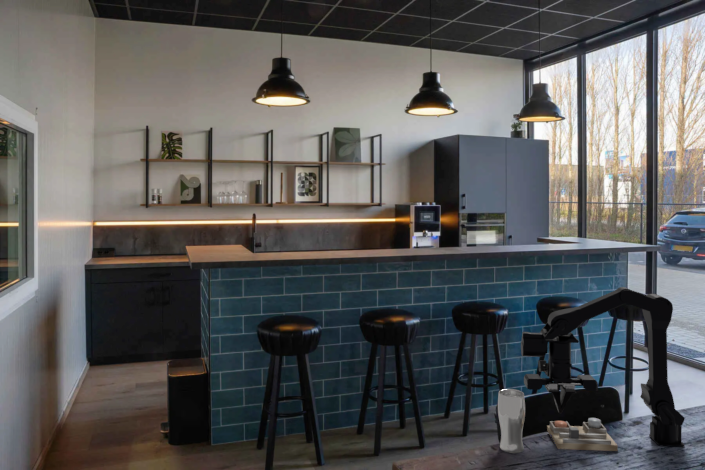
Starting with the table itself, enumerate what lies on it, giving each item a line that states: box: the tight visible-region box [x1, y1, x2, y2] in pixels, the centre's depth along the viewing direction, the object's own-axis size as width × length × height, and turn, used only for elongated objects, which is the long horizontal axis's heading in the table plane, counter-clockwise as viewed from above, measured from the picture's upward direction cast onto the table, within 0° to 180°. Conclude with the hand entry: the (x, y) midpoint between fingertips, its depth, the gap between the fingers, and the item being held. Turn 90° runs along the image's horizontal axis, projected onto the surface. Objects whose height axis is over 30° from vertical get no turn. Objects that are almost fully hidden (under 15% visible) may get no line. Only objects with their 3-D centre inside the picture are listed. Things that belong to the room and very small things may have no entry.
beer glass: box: [497, 388, 526, 454], centre depth 142 cm, size 7×7×15 cm
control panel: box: [546, 420, 619, 452], centre depth 147 cm, size 15×12×3 cm
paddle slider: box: [569, 427, 579, 439], centre depth 143 cm, size 2×2×3 cm
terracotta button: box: [554, 420, 567, 428], centre depth 150 cm, size 3×3×2 cm
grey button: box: [587, 417, 602, 428], centre depth 149 cm, size 3×3×2 cm
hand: (560, 412), depth 150 cm, fingers closed
